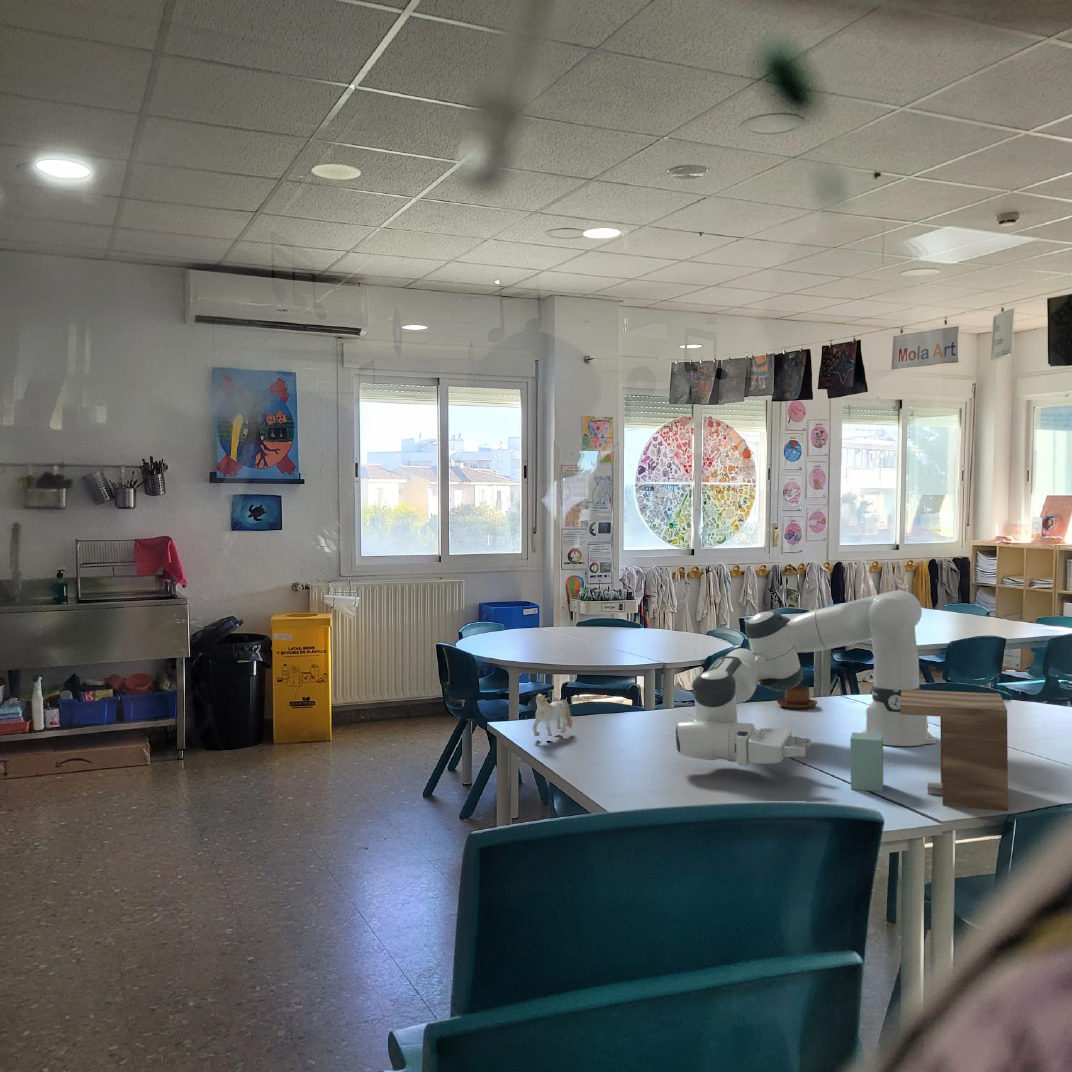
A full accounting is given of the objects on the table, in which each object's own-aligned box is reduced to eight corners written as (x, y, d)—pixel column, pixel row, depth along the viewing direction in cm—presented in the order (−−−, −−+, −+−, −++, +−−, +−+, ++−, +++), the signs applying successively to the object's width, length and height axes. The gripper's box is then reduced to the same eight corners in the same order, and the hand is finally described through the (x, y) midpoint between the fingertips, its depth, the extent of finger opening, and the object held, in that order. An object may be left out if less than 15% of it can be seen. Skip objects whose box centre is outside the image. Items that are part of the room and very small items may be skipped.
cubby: (902, 778, 221) (901, 689, 221) (1000, 785, 214) (1000, 693, 214) (900, 801, 204) (899, 704, 203) (1007, 810, 196) (1007, 710, 196)
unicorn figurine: (524, 747, 257) (523, 696, 257) (549, 732, 275) (549, 684, 275) (550, 749, 255) (549, 697, 254) (574, 733, 273) (573, 685, 273)
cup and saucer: (780, 703, 314) (780, 683, 314) (819, 705, 309) (819, 685, 309) (774, 709, 303) (774, 689, 303) (814, 712, 298) (814, 691, 298)
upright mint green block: (852, 781, 219) (852, 732, 219) (883, 784, 217) (882, 734, 217) (850, 789, 213) (850, 738, 213) (882, 791, 211) (881, 740, 211)
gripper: (753, 746, 234) (813, 750, 229) (737, 767, 215) (802, 772, 210) (752, 720, 234) (813, 723, 229) (737, 738, 215) (802, 742, 210)
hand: (808, 747), depth 219 cm, fingers open, 8 cm apart
